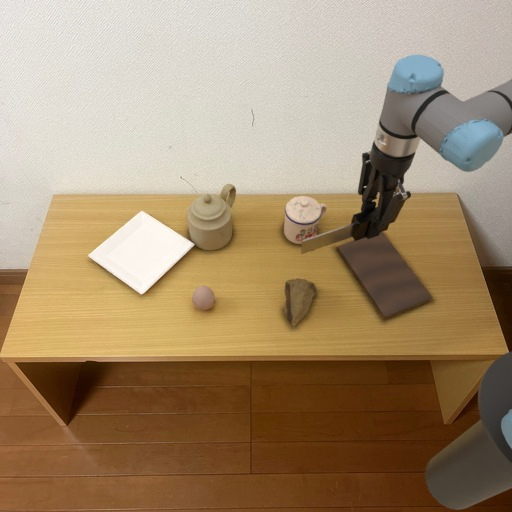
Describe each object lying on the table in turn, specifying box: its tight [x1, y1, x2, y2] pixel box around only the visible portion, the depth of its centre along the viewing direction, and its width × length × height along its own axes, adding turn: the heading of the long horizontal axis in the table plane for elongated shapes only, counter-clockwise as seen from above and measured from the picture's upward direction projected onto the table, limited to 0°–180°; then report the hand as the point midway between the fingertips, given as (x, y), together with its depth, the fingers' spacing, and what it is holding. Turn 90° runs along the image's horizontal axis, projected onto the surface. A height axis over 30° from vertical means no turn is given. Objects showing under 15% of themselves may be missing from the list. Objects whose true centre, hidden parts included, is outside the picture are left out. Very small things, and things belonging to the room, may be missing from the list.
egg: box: [191, 285, 216, 311], centre depth 109 cm, size 5×5×7 cm
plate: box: [87, 210, 195, 295], centre depth 119 cm, size 19×19×2 cm
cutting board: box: [336, 231, 433, 321], centre depth 117 cm, size 22×13×2 cm, turn 24°
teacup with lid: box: [283, 195, 327, 245], centre depth 121 cm, size 12×9×12 cm
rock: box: [284, 277, 318, 327], centre depth 109 cm, size 11×9×10 cm
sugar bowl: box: [186, 183, 237, 251], centre depth 119 cm, size 15×11×15 cm
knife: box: [300, 206, 390, 255], centre depth 99 cm, size 20×3×6 cm, turn 113°
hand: (368, 230), depth 102 cm, fingers closed on knife, 3 cm apart
